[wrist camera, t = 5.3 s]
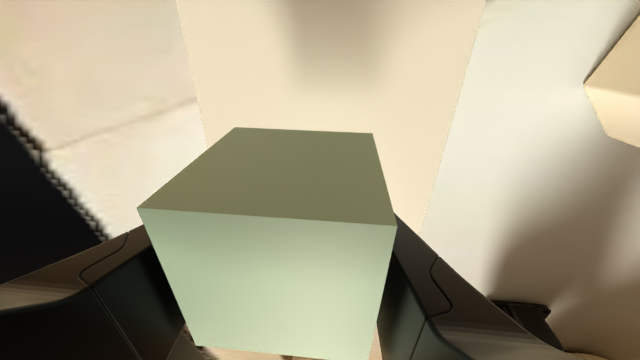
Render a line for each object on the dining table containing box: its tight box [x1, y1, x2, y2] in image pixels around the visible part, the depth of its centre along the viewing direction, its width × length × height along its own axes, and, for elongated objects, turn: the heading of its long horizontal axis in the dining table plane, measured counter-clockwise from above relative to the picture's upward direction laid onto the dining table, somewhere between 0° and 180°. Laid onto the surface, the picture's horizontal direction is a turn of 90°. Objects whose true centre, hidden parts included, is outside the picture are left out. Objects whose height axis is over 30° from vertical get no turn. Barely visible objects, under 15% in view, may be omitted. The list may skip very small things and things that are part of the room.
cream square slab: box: [175, 0, 486, 234], centre depth 18 cm, size 16×16×3 cm
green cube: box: [137, 127, 397, 360], centre depth 8 cm, size 5×5×5 cm
